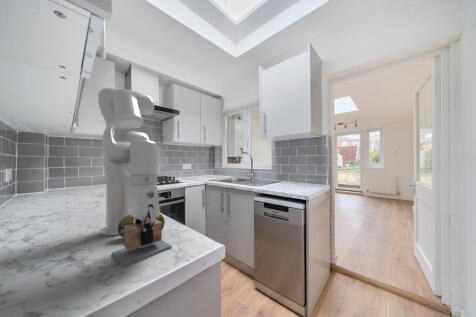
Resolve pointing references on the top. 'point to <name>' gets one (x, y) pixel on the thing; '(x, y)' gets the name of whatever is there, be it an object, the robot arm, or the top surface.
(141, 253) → the mat
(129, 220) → the tin
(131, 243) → the card box
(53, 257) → the top surface
